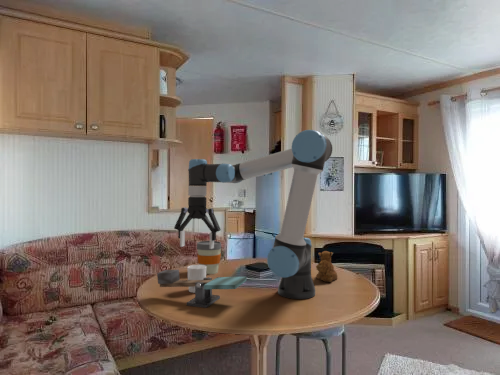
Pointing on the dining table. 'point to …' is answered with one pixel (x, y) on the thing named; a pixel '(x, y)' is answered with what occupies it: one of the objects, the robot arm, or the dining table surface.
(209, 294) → the beam stand
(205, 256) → the reusable coffee cup
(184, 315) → the dining table surface
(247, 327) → the dining table surface
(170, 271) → the balance beam
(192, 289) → the white cup
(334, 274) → the stuffed squirrel
